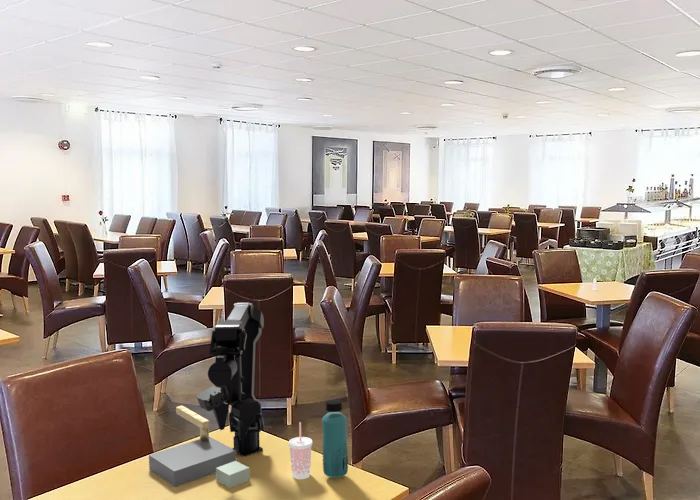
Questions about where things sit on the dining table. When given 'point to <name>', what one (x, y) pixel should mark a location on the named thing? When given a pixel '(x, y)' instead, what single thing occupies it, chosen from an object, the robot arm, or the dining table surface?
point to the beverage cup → (300, 456)
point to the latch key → (195, 421)
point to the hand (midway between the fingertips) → (231, 434)
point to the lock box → (190, 461)
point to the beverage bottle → (334, 440)
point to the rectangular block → (232, 474)
